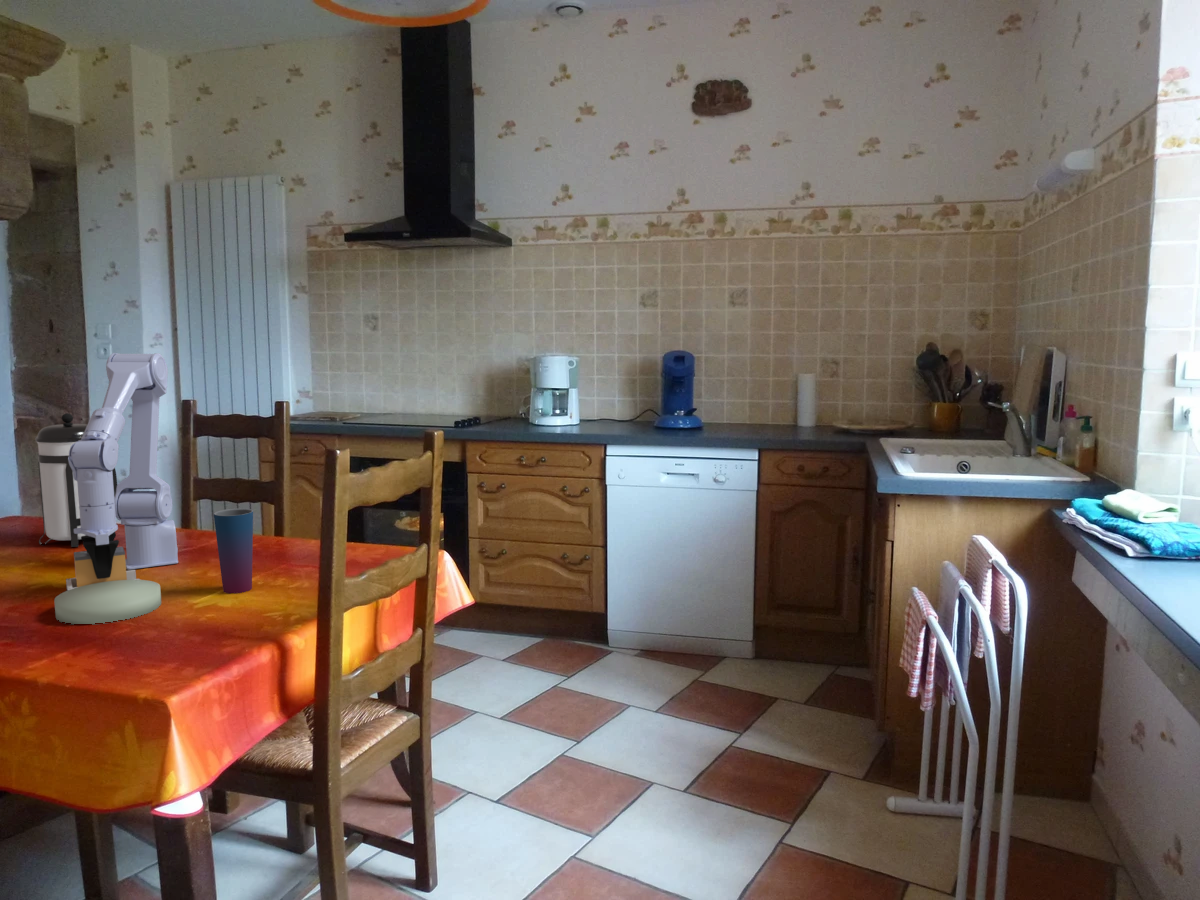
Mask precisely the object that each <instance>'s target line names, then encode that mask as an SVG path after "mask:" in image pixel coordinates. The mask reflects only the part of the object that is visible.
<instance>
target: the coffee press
mask: <svg viewBox="0 0 1200 900" xmlns="http://www.w3.org/2000/svg"><path fill="white" fill-rule="evenodd" d="M60 419H61V420H62V422H63V424H52V425H48V426H45V427H43V428H41V429H40V430H39V432H38V433H37V436H35V438H34V439H35V442H36V443H37V447H38V453H37V461H38V463H37V464H38V476H39V486H40V487H39V488H40V497H41V511H42V522H43V534H42V536H40V538H39V540H38V543H39V545H41V544H42V543H43V542H41V539H42V538H43V537H44V536H45V535H46V536H47V537H48V538H49V539H48V540H46V541H45V542H44V543H45V545H47V544H48V543H49V542H50V541H51V540H53V541H54V540H55V541H70V547H78V546H79V544H80V543H79V542H80V540H82V539H81V537H82V536H86V535H84V534H81V533H80V534H74V529H75V528H81V522H80V509H79V497H78V485H77V481H76V480H74V478H73V471H72V469H71V467H70V465H69V461H68V457H69V450H70V447H71V446H72V444H74V443H76V442H78V441H79V440H81V438H82V436H83V434H84V432H85V429H86V427H87V425H88V423H87V424H86V423H73V421H74V420H73V419H74V416H73V415H72V414H71V413H69V412H68V413H64V414H63V415H62V416H61V418H60ZM112 473H113V486H114V497H115V494H116V488H117V485H118V478H117V472H116V467H115V468H114V469H113V470H112ZM41 546H42V545H41ZM79 547H80V546H79ZM79 547H78V548H79Z"/></svg>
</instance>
